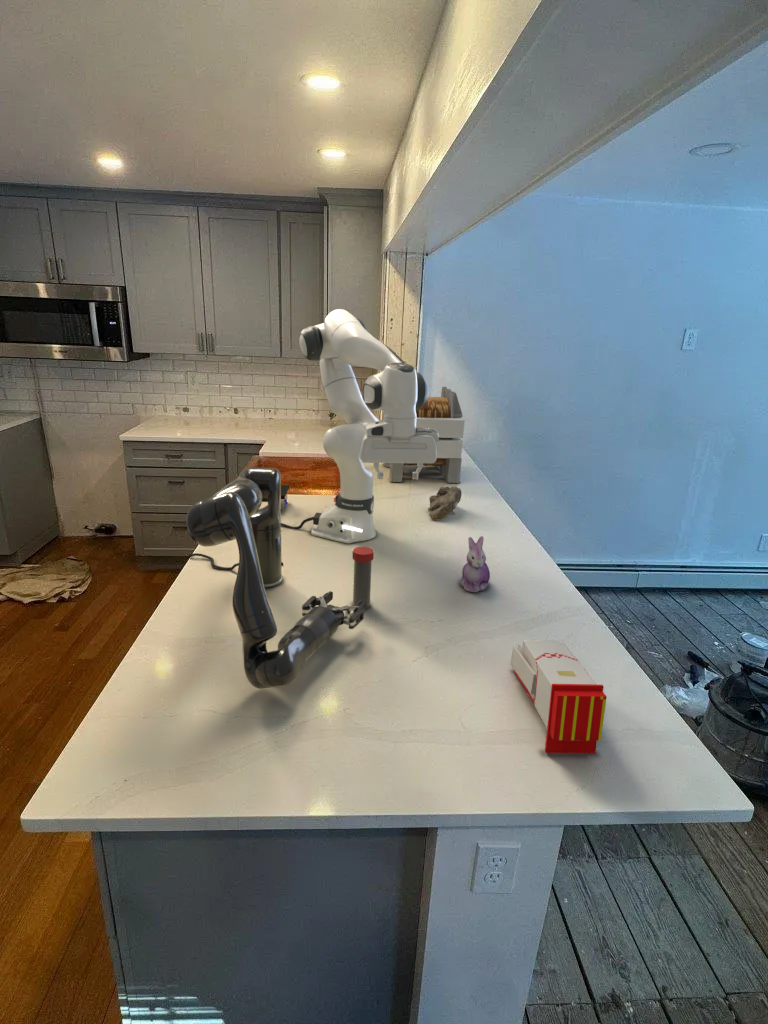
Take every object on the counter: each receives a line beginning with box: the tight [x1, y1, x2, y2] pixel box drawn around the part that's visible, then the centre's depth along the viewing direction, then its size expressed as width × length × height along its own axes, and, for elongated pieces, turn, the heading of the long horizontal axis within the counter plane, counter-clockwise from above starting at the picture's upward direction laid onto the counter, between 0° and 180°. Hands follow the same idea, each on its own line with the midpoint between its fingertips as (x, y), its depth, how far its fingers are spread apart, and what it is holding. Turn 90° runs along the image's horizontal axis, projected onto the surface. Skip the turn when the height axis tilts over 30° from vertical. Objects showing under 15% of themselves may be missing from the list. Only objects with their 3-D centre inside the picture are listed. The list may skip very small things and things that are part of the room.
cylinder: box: [352, 560, 373, 610], centre depth 148 cm, size 4×4×16 cm
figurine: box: [460, 535, 491, 593], centre depth 162 cm, size 9×10×15 cm
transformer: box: [382, 386, 465, 484], centre depth 268 cm, size 34×33×41 cm
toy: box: [510, 639, 607, 754], centre depth 114 cm, size 12×13×30 cm
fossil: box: [427, 486, 462, 521], centre depth 221 cm, size 22×10×15 cm
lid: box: [352, 546, 375, 563], centre depth 146 cm, size 5×5×2 cm
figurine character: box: [281, 484, 290, 512], centre depth 219 cm, size 7×8×15 cm
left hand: (346, 598), depth 141 cm, fingers open, 8 cm apart
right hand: (397, 478), depth 152 cm, fingers open, 8 cm apart
